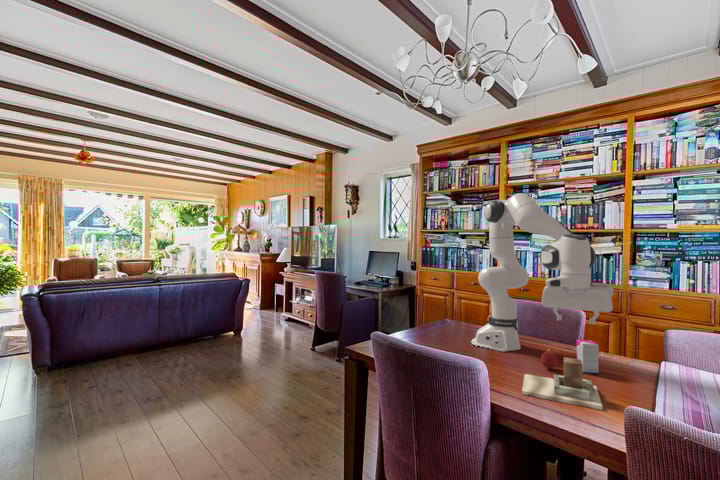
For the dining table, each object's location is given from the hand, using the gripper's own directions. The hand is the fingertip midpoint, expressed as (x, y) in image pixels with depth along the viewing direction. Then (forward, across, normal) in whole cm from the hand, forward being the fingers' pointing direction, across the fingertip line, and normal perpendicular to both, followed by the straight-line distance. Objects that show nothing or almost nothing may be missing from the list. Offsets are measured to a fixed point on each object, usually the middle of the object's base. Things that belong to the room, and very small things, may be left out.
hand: (575, 322), depth 113 cm
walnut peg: (+22, +1, +4) cm, 23 cm away
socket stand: (+24, +5, +4) cm, 24 cm away
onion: (+24, +8, -17) cm, 31 cm away
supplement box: (+24, -5, -22) cm, 33 cm away
